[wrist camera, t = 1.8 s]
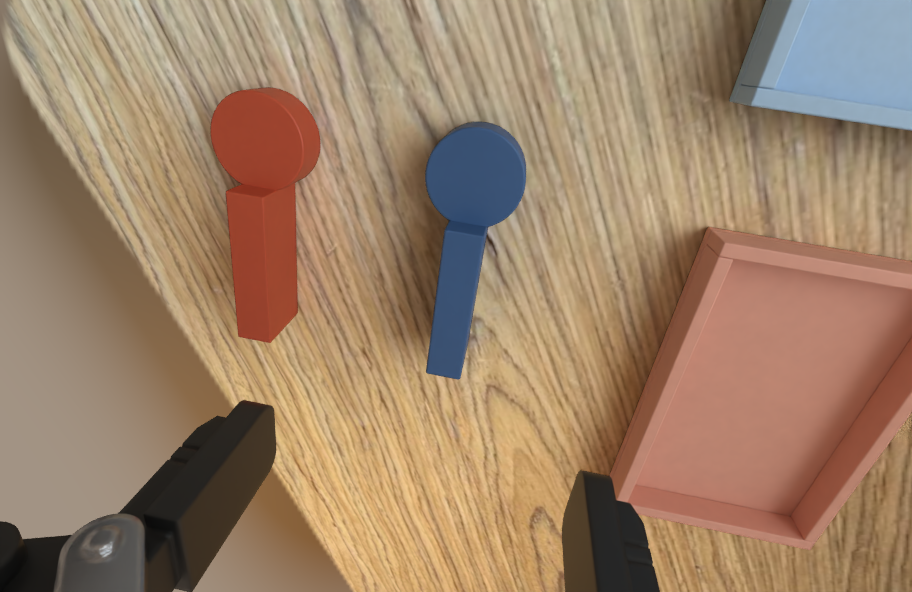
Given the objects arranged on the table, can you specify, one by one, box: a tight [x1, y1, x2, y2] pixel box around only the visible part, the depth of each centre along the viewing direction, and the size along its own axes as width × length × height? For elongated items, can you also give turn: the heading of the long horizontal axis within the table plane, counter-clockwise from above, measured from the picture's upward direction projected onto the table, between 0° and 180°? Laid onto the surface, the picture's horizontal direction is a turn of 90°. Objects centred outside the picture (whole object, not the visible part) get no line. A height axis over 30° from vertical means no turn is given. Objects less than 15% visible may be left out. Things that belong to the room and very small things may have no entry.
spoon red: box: [211, 88, 320, 343], centre depth 21 cm, size 11×4×3 cm, turn 172°
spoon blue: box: [425, 122, 526, 379], centre depth 21 cm, size 11×4×3 cm, turn 172°
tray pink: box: [609, 227, 912, 550], centre depth 22 cm, size 15×10×2 cm
